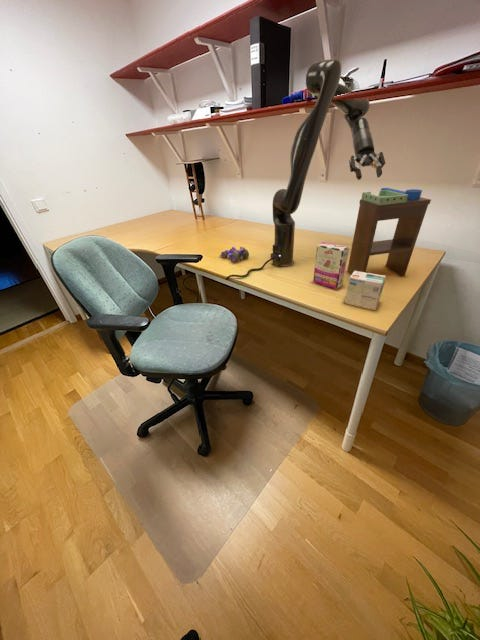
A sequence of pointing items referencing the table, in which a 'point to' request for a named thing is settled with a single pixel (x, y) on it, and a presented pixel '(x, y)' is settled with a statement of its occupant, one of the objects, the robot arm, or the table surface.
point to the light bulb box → (364, 289)
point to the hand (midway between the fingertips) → (369, 177)
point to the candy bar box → (330, 264)
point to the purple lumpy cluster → (235, 254)
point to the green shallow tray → (385, 197)
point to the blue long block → (408, 193)
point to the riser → (397, 247)
